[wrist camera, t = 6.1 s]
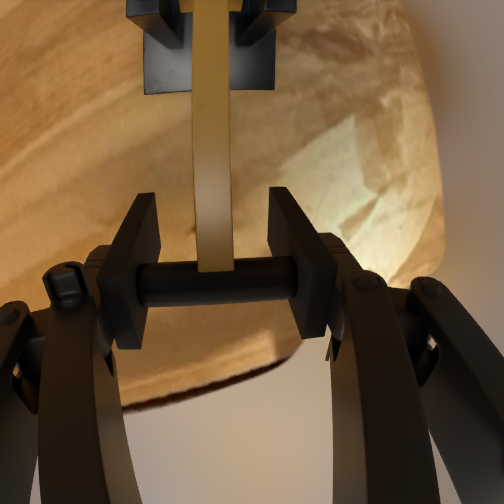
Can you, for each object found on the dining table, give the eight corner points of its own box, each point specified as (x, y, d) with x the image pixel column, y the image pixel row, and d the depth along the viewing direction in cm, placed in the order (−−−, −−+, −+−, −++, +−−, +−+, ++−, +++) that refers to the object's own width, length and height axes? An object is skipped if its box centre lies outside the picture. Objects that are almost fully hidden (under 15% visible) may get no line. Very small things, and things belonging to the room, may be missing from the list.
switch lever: (284, 285, 12) (301, 311, 10) (149, 292, 11) (137, 321, 9) (276, -39, 9) (289, -71, 6) (148, -36, 8) (139, -69, 6)
